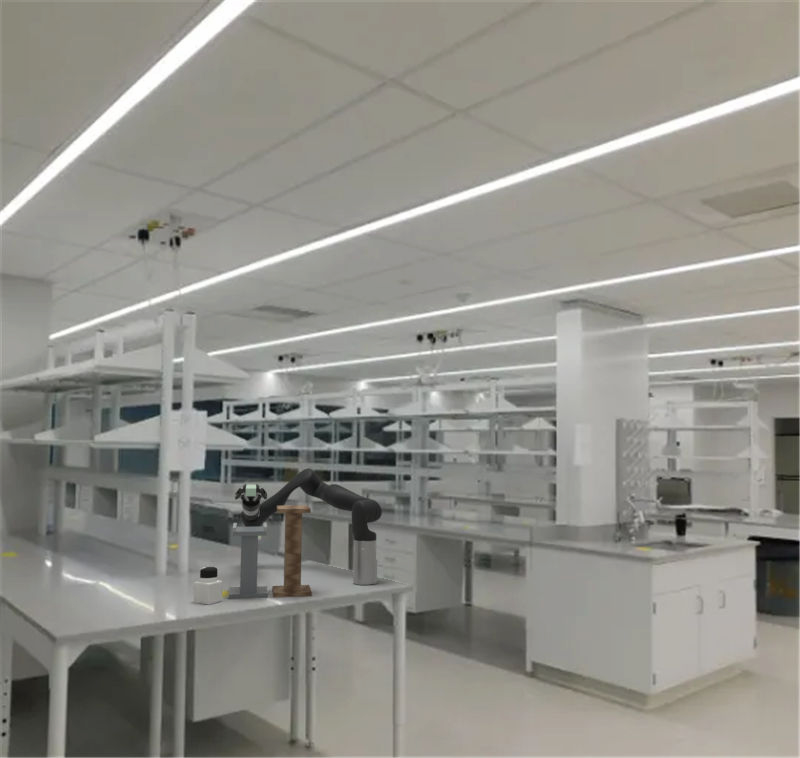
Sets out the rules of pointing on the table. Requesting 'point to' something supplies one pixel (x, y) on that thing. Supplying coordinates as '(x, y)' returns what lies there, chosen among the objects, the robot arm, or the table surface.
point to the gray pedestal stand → (249, 563)
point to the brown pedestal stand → (292, 553)
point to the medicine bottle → (208, 587)
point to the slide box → (250, 490)
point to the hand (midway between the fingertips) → (251, 486)
